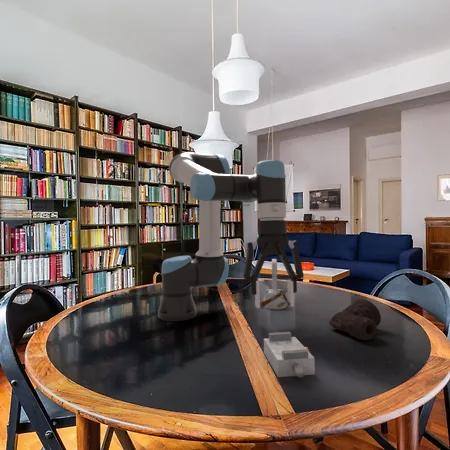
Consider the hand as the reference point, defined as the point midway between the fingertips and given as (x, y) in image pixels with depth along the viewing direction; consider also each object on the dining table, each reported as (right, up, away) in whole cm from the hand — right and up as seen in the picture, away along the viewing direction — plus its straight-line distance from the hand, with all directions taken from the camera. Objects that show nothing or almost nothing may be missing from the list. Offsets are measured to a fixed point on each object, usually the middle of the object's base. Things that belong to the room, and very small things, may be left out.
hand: (274, 305), depth 82 cm
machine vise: (+4, -14, -3) cm, 15 cm away
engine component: (+9, -14, +55) cm, 57 cm away
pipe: (+31, -14, +21) cm, 40 cm away
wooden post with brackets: (0, -1, 0) cm, 1 cm away
